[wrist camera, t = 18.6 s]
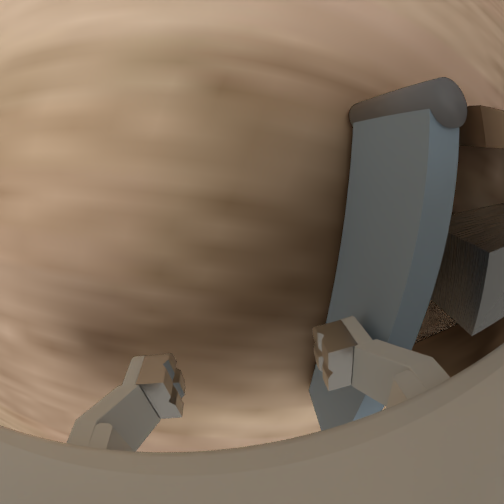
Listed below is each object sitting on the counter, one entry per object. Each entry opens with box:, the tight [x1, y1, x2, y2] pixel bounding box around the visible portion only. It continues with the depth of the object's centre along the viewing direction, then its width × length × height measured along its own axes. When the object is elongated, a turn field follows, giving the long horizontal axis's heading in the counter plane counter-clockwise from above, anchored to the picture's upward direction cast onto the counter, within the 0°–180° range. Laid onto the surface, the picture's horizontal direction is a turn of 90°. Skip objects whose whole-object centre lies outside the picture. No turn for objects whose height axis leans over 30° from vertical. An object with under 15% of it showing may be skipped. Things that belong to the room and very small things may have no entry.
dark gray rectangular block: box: [431, 203, 504, 336], centre depth 11 cm, size 9×4×5 cm, turn 101°
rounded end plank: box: [309, 77, 467, 431], centre depth 10 cm, size 1×15×6 cm, turn 177°
